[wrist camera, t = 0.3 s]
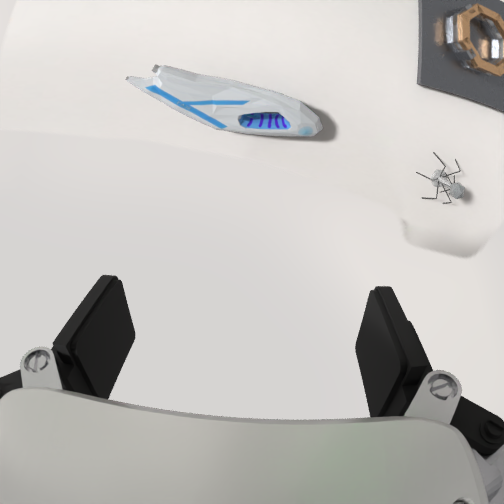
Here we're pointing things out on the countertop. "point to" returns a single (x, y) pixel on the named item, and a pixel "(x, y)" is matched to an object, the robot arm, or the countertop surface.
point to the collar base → (445, 60)
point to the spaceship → (229, 103)
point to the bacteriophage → (446, 183)
